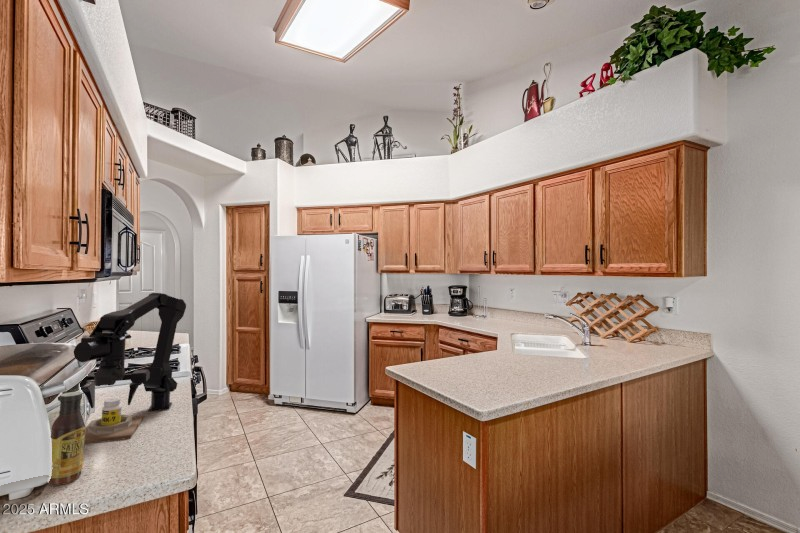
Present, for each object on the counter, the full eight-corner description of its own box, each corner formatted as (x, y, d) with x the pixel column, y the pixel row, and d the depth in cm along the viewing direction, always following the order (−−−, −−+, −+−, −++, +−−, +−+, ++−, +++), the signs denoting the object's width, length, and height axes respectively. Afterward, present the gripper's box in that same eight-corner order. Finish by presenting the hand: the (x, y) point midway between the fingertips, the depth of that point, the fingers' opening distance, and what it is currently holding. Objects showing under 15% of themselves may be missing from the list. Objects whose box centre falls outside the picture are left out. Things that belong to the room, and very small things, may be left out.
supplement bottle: (97, 431, 113) (99, 402, 114) (105, 425, 118) (106, 397, 118) (116, 429, 115) (117, 401, 115) (123, 423, 119) (124, 397, 119)
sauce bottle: (61, 488, 85) (65, 399, 86) (39, 485, 86) (43, 397, 87) (90, 474, 92) (93, 391, 92) (69, 470, 93) (73, 389, 93)
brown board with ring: (91, 424, 121) (92, 414, 121) (143, 418, 126) (144, 409, 126) (70, 445, 106) (71, 434, 106) (130, 438, 112) (130, 427, 112)
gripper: (63, 362, 106) (60, 419, 105) (142, 358, 113) (140, 411, 112) (79, 354, 116) (77, 406, 116) (151, 351, 123) (149, 400, 123)
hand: (111, 406), depth 116 cm, fingers open, 9 cm apart
